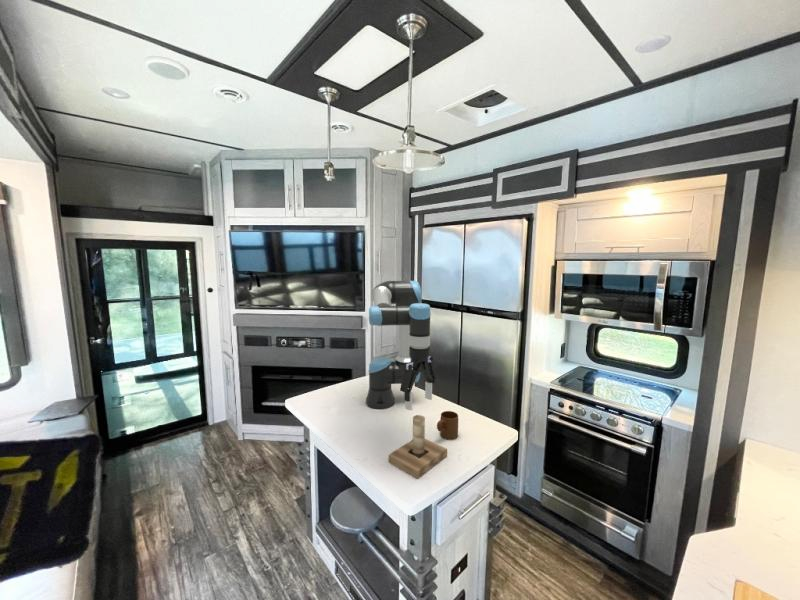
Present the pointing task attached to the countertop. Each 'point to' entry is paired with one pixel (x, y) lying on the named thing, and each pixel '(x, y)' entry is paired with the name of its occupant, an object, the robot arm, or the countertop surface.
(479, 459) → the countertop surface
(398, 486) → the countertop surface
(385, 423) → the countertop surface
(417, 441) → the leg
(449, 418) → the mug
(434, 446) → the board
